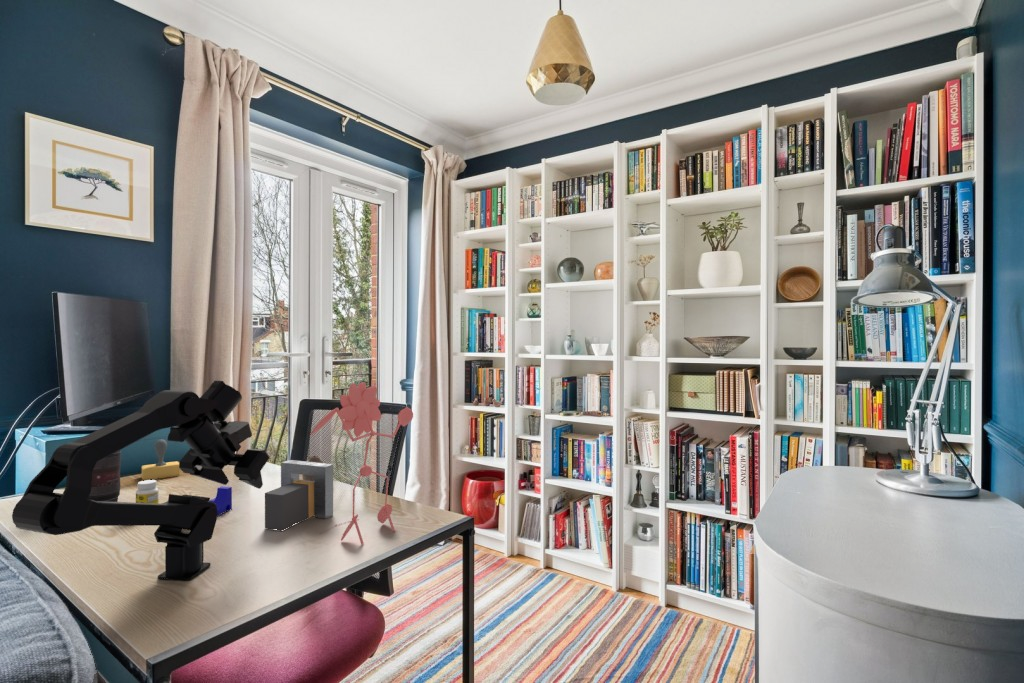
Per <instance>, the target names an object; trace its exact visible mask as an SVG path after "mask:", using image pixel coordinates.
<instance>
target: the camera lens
mask: <svg viewBox="0 0 1024 683" xmlns="http://www.w3.org/2000/svg"><path fill="white" fill-rule="evenodd" d="M121 465H122V452H121V450H119V451H117V452H115V453H113V454H111V455H110V456H108V457H106V458H104V459H102V460H100V461H98V462H97V463H96V465H95V467H94V469H93V471H92V483H91V492H90V495H89V497H88V499H91V500H94V501H106V502H119V496H120V494H121Z"/></svg>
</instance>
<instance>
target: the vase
mask: <svg viewBox="0 0 1024 683" xmlns="http://www.w3.org/2000/svg"><path fill="white" fill-rule="evenodd" d="M307 462H316V463H324V462H323V461H322V460H321V458H320V456H319V455H311V456H310V457H309V459H308V460H307ZM301 476H302V480H308V481H315V476H311V475H302V474H301Z"/></svg>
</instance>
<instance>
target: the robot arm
mask: <svg viewBox="0 0 1024 683" xmlns="http://www.w3.org/2000/svg"><path fill="white" fill-rule="evenodd" d="M242 396H243V395H242V394H241V392H240V391H239V390H237V389H235V388H234V387H232V386H231V385H228V384H226V383H225V382H224V381H223V380H213V382H212V383H211V384H210V386H209V388H207V390H206V391H205V392H204V393H203V394H202V395H201V396H200V397H199V396H198V394H197V393H196V392H194V391H190V390H189V391H188V390H170V389H165V390H161V391H160V392H158V393H156V394H154V395H153V396H152V397H151V398H149V399H148V400H146V401H145V402H144V404H143V405H142V407H141V408H140V409H139V408H138V410H137V411H135V412H133V413H131V414H128V415H126V416H124V417H123V418H120V419H118V420H116V421H114V422H112V423H110V424H107V425H106V426H103V427H101V428H99V429H97V430H95V431H92V432H91V433H89V434H86V435H84V436H83V437H80V438H78V439H75V440H74V441H71V442H68V443H64V444H62V445H60V446H58V447H57V448H56V449H55V450H54V452H53V453H52V455H51V457H50V459H49V461H48V463H47V464H46V465H45V466H44V467H43V468H42V469H41V470H40V471H39V472H38V473H37V474H36V476H34V477H33V479H32V480H31V481H30V482H29V484H28V485H27V488H26V490H25V491H24V493H23V495H22V497H21V499H20V500H19V501H17V503H16V504H15V506H14V508H13V510H12V514H11V517H12V518H11V519H12V523H13V524H14V526H15V528H17V529H19V530H24V531H29V532H35V533H42V534H48V535H53V536H59V535H60V536H61V535H65V534H70V533H76V532H81V531H83V530H84V531H85V530H87V529H88V528H91V527H95V526H96V527H100V526H102V527H109V526H110V527H112V526H113V527H114V526H116V527H117V526H122V527H125V526H127V527H128V526H136V527H137V526H151V527H152V526H157V529H156V530H155V531H154V533H153V536H154V538H155V540H156V542H157V543H164V544H166V545H165V547H164V548H165V549H164V550H165V552H164V554H165V556H164V557H165V558H164V560H165V562H164V564H165V566H164V567H165V571H163V572H162V573H160V574H159V575H157V580H172V581H173V580H174V581H175V580H176V581H178V580H179V581H189V580H190V581H191V580H192V579H194V578H196V576H198V575H199V574H201V573H202V572H203V571H205V570H207V569H208V568H210V567H211V562H205V560H204V543H205V542H208V541H210V540H212V538H213V534H214V531H215V527H216V523H217V520H218V516H219V515H218V513H217V507H216V504H215V503H214V502H211V501H209V500H211V497H206V496H199V495H191V494H182V495H180V494H171V493H169V494H168V500H167V501H164V502H162V503H159V504H158V503H136V502H131V501H129V502H128V501H127V502H126V501H125V502H124V501H117V502H106V501H94V500H91V499H88V497H89V495H90V492H91V483H92V471H93V469H94V467H95V465H96V463H97V462H98V461H100V460H102V459H104V458H106V457H108V456H110V455H111V454H113V453H115V452H117V451H119V450H120V451H121V450H123V449H124V448H126V447H128V446H130V445H132V444H134V443H135V442H138V441H140V440H142V439H144V438H145V437H148V436H149V435H152V434H153V433H155V432H157V431H160V430H163V429H169V428H170V429H169V433H168V436H167V441H168V442H177V443H184V442H185V443H186V444H187V445H188V446H189V447H190V448H189V450H188V451H187V452H186V453H185V454H184V455H183V456H182V458H181V459H180V460H179V468H180V471H182V472H183V473H184V474H189V475H191V476H195V477H199V478H201V479H203V480H204V479H205V480H209V481H211V482H215V483H218V484H221V485H224V486H226V485H227V484H229V482H230V480H229V479H228V477H227V475H226V473H225V471H224V470H223V469H224V468H225V467H227V466H232V467H233V466H234V468H233V469H234V470H233V474H234V475H235V477H237V478H238V481H240V482H243V483H245V484H247V485H249V486H252V487H254V488H257V489H261V488H263V485H264V482H263V477H262V469H263V468H264V467H265V465H266V464H267V462H268V461H269V459H270V455H269V453H268V452H267V451H266V450H265V449H258V448H257V449H256V448H248V449H246V451H245V452H244V453H243V454H240V453H236V452H239V450H240V449H241V448H242V445H241V443H244V441H245V440H247V439H248V438H251V437H253V433H252V430H251V425H250V423H249V421H241V420H239V421H238V420H234V421H227V420H226V419H227V418H228V417H229V415H230V414H231V413H232V412H233V411H234V409H235V408H236V407H238V405H239V404H240V402H241V401H242V400H243V397H242ZM64 479H66V481H65V489H64V490H63V492H62V493H59V492H54V491H55V489H56V488H57V487H58V485H59V484H60V483H61V482H62V481H64ZM183 530H184V531H183ZM185 530H186V531H185Z"/></svg>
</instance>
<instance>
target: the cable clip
mask: <svg viewBox="0 0 1024 683" xmlns="http://www.w3.org/2000/svg"><path fill="white" fill-rule="evenodd" d="M232 488H233V487H232V486H225V485H224V486H222V485H221V486H219V487H217V490H216V491H217V492H216V496H215V497H214V498H212V499H210V500H209V501H211V502H214V503H215V504H216V507H217V513H218V516H220V515H222V514H224V513H223V512H225V511H227V510H229V511H231V510H232V509H233V501H232V500H233V495H232V494H233V489H232ZM230 509H231V510H230ZM227 512H228V511H227ZM221 513H222V514H221ZM225 513H226V512H225ZM219 514H220V515H219Z"/></svg>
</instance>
